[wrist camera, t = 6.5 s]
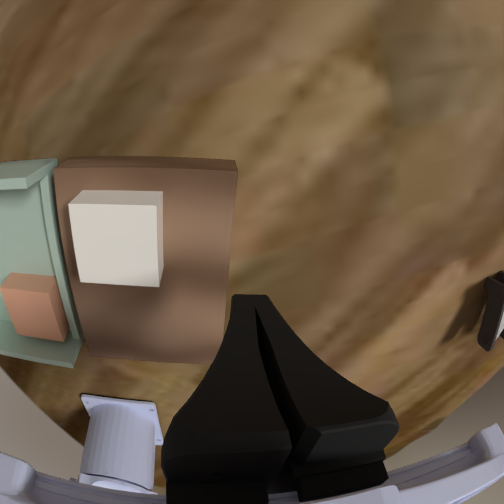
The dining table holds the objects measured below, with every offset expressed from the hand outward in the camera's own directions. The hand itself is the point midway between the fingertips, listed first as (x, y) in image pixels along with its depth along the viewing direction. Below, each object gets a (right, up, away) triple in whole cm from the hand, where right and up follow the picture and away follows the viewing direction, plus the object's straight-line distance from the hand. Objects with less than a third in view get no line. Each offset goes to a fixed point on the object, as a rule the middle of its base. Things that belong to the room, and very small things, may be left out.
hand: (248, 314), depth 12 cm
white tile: (-7, +4, +4) cm, 9 cm away
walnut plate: (-7, +2, +8) cm, 10 cm away
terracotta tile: (-16, -1, +8) cm, 18 cm away
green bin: (-18, +2, +6) cm, 19 cm away
